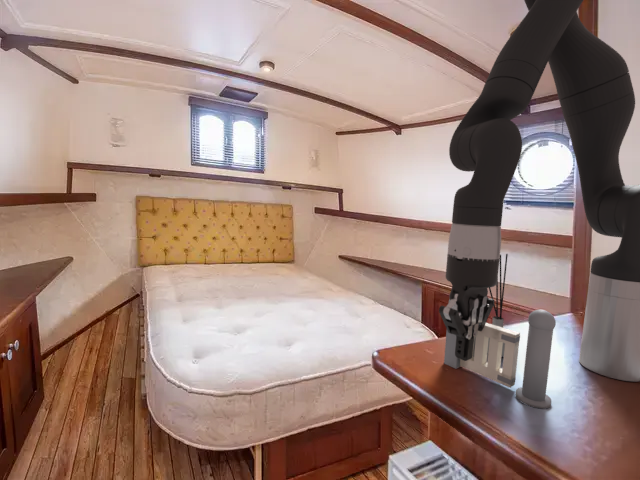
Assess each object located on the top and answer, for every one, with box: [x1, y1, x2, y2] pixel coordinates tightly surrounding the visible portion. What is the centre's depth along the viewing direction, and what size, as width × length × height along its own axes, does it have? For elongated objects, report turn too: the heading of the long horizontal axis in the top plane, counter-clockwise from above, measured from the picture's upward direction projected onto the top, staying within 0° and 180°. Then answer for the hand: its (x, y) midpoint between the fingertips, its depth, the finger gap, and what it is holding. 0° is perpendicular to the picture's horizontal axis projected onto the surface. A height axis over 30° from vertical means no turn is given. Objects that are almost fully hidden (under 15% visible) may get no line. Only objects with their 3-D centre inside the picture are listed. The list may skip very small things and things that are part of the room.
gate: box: [460, 322, 521, 388], centre depth 56 cm, size 8×2×9 cm, turn 38°
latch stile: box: [443, 299, 476, 369], centre depth 60 cm, size 4×6×14 cm
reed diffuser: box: [487, 253, 509, 357], centre depth 66 cm, size 10×7×20 cm
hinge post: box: [514, 309, 557, 410], centre depth 50 cm, size 5×5×14 cm
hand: (463, 358), depth 55 cm, fingers closed
